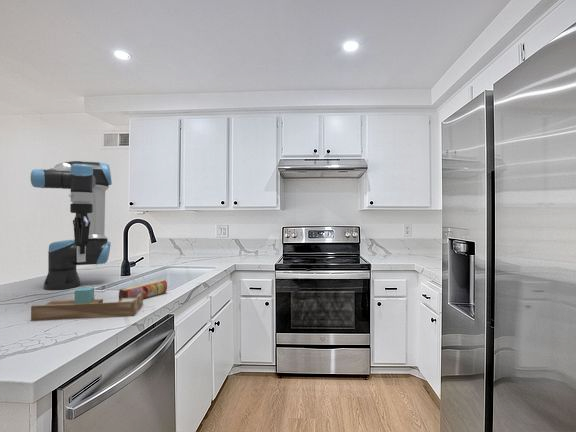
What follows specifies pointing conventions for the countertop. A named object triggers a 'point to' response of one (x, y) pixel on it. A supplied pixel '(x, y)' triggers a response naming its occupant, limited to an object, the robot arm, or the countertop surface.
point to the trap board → (86, 309)
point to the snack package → (144, 289)
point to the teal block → (84, 295)
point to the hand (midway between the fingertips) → (81, 261)
